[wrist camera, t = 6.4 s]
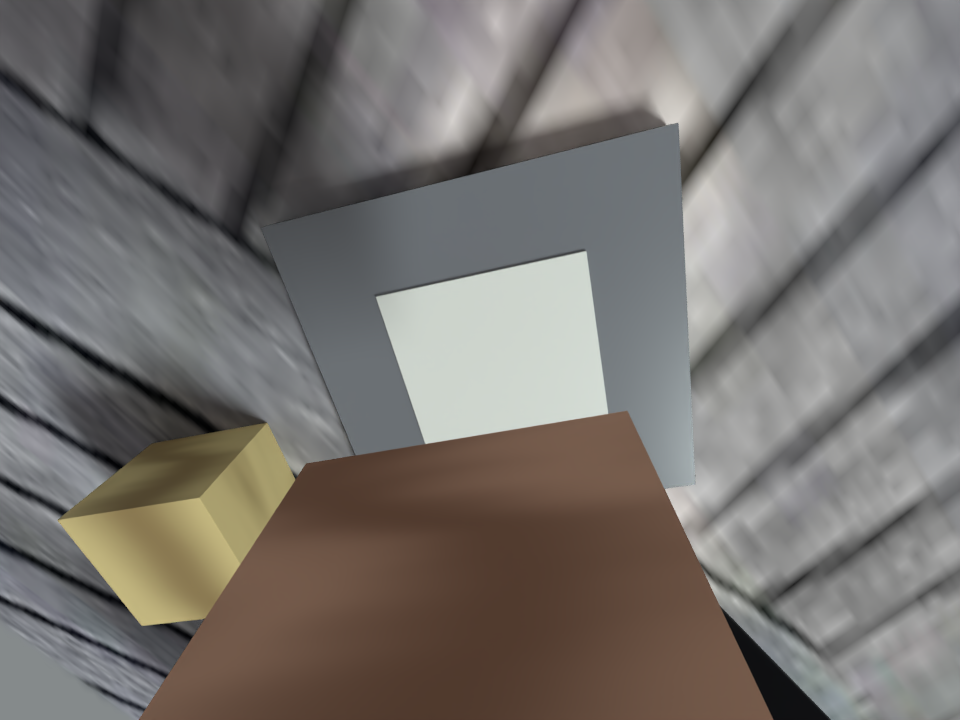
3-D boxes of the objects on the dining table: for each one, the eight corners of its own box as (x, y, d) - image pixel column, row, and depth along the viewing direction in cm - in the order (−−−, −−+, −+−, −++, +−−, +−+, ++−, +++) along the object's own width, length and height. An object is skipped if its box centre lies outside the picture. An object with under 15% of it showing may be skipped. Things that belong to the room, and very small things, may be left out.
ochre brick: (212, 535, 24) (141, 625, 19) (153, 441, 21) (57, 520, 17) (317, 520, 23) (269, 611, 18) (268, 421, 20) (199, 497, 16)
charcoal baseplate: (390, 511, 22) (385, 528, 21) (274, 223, 16) (259, 228, 15) (686, 469, 20) (696, 485, 19) (667, 124, 14) (679, 122, 13)
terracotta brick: (400, 660, 11) (323, 1023, 6) (306, 463, 8) (74, 817, 4) (653, 637, 10) (774, 1037, 5) (627, 410, 8) (804, 785, 3)
